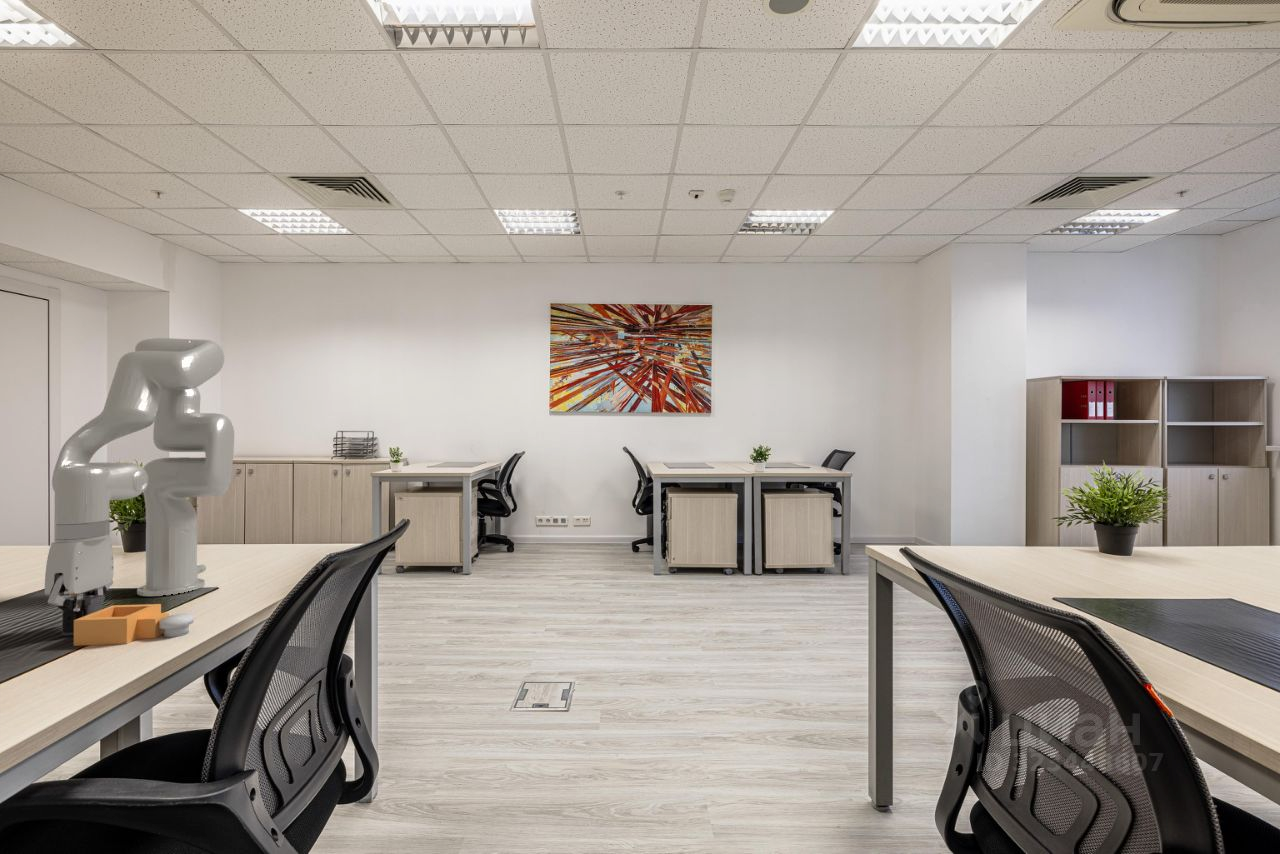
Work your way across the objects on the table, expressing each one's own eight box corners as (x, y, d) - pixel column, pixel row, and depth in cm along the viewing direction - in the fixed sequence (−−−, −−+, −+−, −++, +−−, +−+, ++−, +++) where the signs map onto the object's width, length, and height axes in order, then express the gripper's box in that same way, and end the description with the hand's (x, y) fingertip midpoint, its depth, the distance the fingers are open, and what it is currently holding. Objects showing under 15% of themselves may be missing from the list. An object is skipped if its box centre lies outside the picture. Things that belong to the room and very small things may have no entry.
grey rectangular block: (74, 629, 110) (74, 595, 110) (104, 628, 111) (104, 594, 111) (59, 635, 107) (60, 600, 107) (90, 634, 108) (90, 599, 108)
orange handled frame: (73, 645, 102) (73, 620, 102) (112, 628, 111) (112, 605, 111) (175, 641, 104) (175, 616, 104) (205, 625, 113) (205, 602, 113)
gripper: (96, 524, 117) (95, 615, 117) (19, 540, 101) (18, 645, 101) (136, 524, 118) (136, 614, 118) (66, 539, 101) (66, 644, 101)
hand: (82, 627), depth 109 cm, fingers closed on grey rectangular block, 3 cm apart
